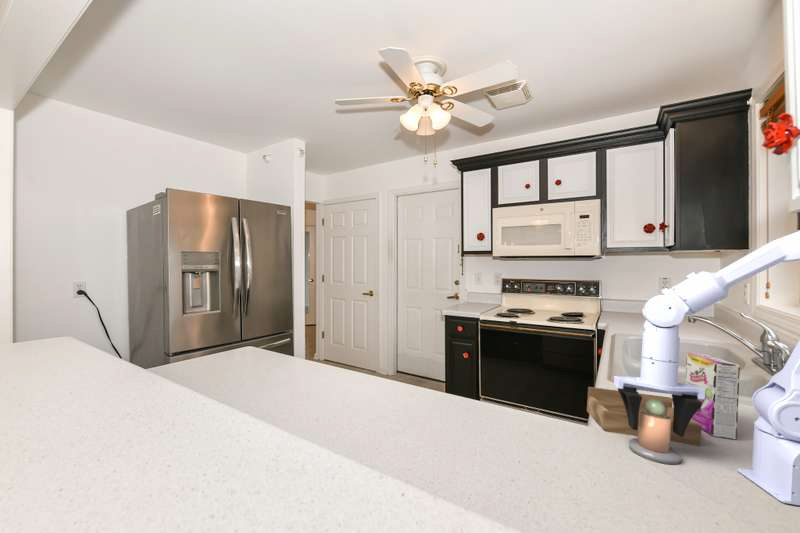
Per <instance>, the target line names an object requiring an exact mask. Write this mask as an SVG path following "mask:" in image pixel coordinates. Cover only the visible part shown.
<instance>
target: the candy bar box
mask: <svg viewBox="0 0 800 533" xmlns="http://www.w3.org/2000/svg"><path fill="white" fill-rule="evenodd" d="M685 364H686V365H685V367H686V368H685V384H688V385H694V386H699V387H702V388H704V389H705V399H697V400H699V401H701V402H702V404H701V408H700V409H699V410H698V411H697V412H696V413H695V414H694V415H693V417H692V418H691V419H692V420H693V421H695V422H696V423H698V424H700V425H701V426H702V430H701V431H704V432H705V433H707V434H708V435H710V436H712V437H713V438H718V437H721V439H726V438H730V439H729V440H734V439H737V436H738V418H739V417H738V416H739V414H738V413H739V397H740V396H739V394H740V393H739V392H740V369H741V365H740V364H738V363H735V362H731V361H728V360H726V359H725V360H724V359H721V358H719V357H716V356H713V355H709V354H707V353H705V354H704V353H694V352H686V363H685Z"/></svg>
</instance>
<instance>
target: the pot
mask: <svg viewBox="0 0 800 533" xmlns="http://www.w3.org/2000/svg"><path fill="white" fill-rule="evenodd" d="M645 408H646V410H640V411H639V424H638V436H637V438H638V440H637V443H638V444H639V445H640V446H642V447H644V448H646V449H649V450H652V451H655V452H660V453H669V452H670V447H671V441H670V435H671V417H669V416H667V415H665V412H666V407H665V405H664V404H663V403H662V402H661V401H659V400H657V399H650V400H648V401H647V402H646V404H645Z"/></svg>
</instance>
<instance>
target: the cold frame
mask: <svg viewBox="0 0 800 533" xmlns="http://www.w3.org/2000/svg"><path fill="white" fill-rule="evenodd" d="M638 394H639V395H640V396H641V397H642V400H641V403H640V408H639V411H640V410H646V408H645V404H646V402H647V401H648V400H650V399H657V400H659V401H661V402H662V403H663V404H664V405H665V407H666V412H665V415H667V416H669V417H671V435H670V442H675V443H681V444H689V445H693V446H694V445H695V446H700V447H701V446H702V445H701V444H702V431H703V430H702V426H701V425H700V424H698V423H696V422H695V421H693V420H692V419H691V420H690V422H689V424H688V426H687V428H686V431H685V433H684V436H683V437H681V436H678V435H677V434H676V433H674V432H673V418H674V408H673V399H672V397H670V396H661V395H656V394H655V395H654V394H647V393H640V392H638ZM586 403H587V404H586V412H587V414H589V415H590V417H592V418H591V419H593V420H594V421H595V422H596V423H597V425H598V426H599V427H600V428H601V429H602V431H604V432H609V433H616V434H623V435H628V436H636V437H638V428H637V430H634V429H632V428H631V427H630V426H629V423H628V417H627V412H626V408H625V405H624V402H623V400H622V397H621V395H620V393H619V391H618V389H608V388H602V387H601V388H600V387H593V386H588V387H587V401H586ZM638 424H639V414H638Z"/></svg>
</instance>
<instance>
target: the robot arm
mask: <svg viewBox="0 0 800 533" xmlns="http://www.w3.org/2000/svg"><path fill="white" fill-rule="evenodd" d="M796 261H797V262H798V261H800V230H798V231H795V232H792V233H791V234H787V235H784V236H782V237H779V238H777V239H775V240H771V241H769V242H767V243H766V244H764V245H762V246H760V247H758V248H757V249H755V250H753V251H752V252H749V253H748V254H746V255H744V256H743V257H741V258H739V259H738V260H736V261H734V262H732V263H730V264H729V265H726V266H725V267H723V268H721V269H719V271H716V272H711V271H704V270H703V271H699V272H697V273H695V272H694V271H693V272H691V273H689V274H687V275H686V276H685V278H686V279H685V280H683V281H681V282H679V283H678V284H676V285H674V286H672V287H670V288H667V287H665V288H663V289H661V290H660V292H661V293H662V294H661V295H660V294H659V295H655V296H652V297H651V298H650V299H648V300H647V301H646V302H645V304H644V306H643V308H642V315H643V317H644V318H645V320H644V323H643V330H644V331H643V332H642V338H641V358H640V374H639V375H640V376H619V375H614V377H613V378H614V379H613V386H614V388H615V387H616V388H617V391H619V393H620V395H621V397H622V400H623V402H624V405H625V408H626V412H627V417H628V423H629V426H630V427H631V428H632V429H634V430H637V428H638V414H639V408H640V403H641V400H642V397H641V396H640V395H639V394H638V393H639V391H641V392H642V391H643V392H650V393H659V394H668V395H671V398H672V399H673V403H672V408H674V418H673V432H674V433H676V434H677V435H678V436H681V437H683V436H684V433H685V431H686V428H687V426H688V424H689V422H690V420H691V418H692V417H693V415H694V414H695V413H696V412H697V411H698V410H699V409H700V408H701V404H702V402H701V401H699V400H697V399H705V389H704V388H702V387H699V386H694V385H688V384H686V383H681V382H678V377H679V376H678V374H679V359H680V357H679V356H680V339H681V338H680V336H679V333H680V324H682V321H684V318H685V316H686V315H687V316H693V315H694V314H696V313H698V312H700V311H702V310H704V309H707V308H708V307H710V306H712V305H714V304H716V303H718V302H720V301H722V300H725V299H726V298H727V297H728V293H729V289H730V287H732V286H734V285H736V284H738V283H740V282H742V281H745V280H746V279H749V278H751V277H753V276H755V275H757V274H759V273H761V272H763V271H765V270H768V269H770V268H772V267H774V266H777V265H778V264H780V263H789V262H796ZM751 397H752V398H751V404H752V407H753V409H754V411H755V412H756V413H757V414H758V415H759V417H757V420H755V421H754V422H753V425H754V426H753V438H752V439H753V441H752V443H753V444H752V458H751V459H752V460H751V461H752V462H751V463H752V464H751V469H746V468H739V467H738V468H737V471H738V473H740V474H741V475H743V476H744V477H746V478H747V479H749V480H750V481H752V483H754V484H755V485H757V486H758V487H759V488H761V489H763V490H764V491H765V492H767V493H768V494H770V495H771V496H772V497H774V498H775V499H777V500H778V501H779V502H781V503H784V504H789V505H795V506H800V339H799V340H798V342H797V344H796V345H795V347H794V349H793V350H792V352H791V354H790V355H789V357H788V359H787V361H786V363H785V364H784V366H783V368H782V369H781V370H779V371H778V372H777V373H775V374H773V375H772V377H771V378H770V380H769V381H768V383H767V384H765V385H764V386H762V387H760V388H758V389H757V390H756V391H755V392H754V393H753V394H752V396H751Z"/></svg>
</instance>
